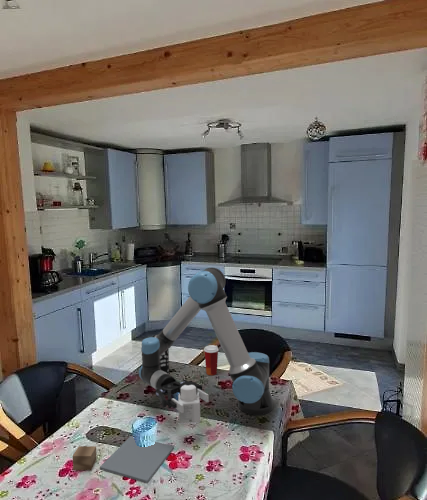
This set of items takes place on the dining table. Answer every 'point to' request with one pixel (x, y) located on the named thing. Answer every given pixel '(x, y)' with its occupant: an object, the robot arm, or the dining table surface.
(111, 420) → the dining table surface
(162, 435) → the dining table surface
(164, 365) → the white-spotted black cylinder
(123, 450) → the slate plate
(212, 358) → the paper cup
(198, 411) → the container
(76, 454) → the walnut block
